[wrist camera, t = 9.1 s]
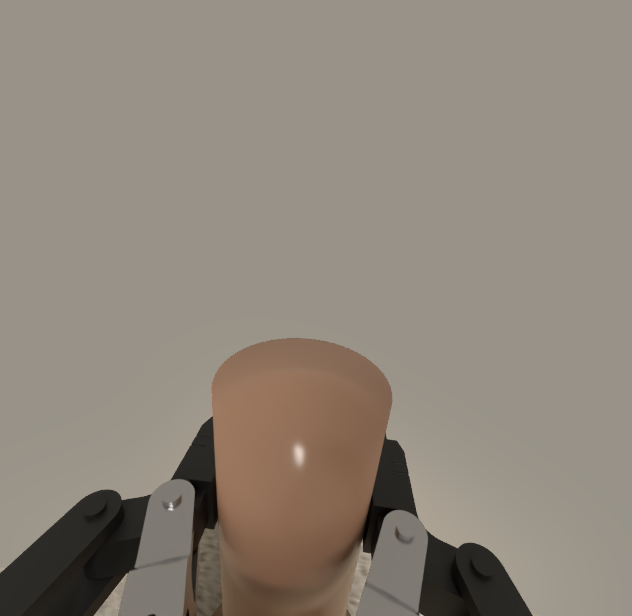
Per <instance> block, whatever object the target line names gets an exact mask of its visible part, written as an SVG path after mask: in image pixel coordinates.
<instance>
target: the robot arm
mask: <svg viewBox="0 0 632 616" xmlns="http://www.w3.org/2000/svg"><path fill="white" fill-rule="evenodd" d="M217 520H218V508H217V488H216V468H215V448H214V428H213V416H212V417H211V418H210V419H209V420H208V421H206V422H205V423H204V424H203V425H202V426H201V428H200V430H199V432H198V434H197V436H196V437H195V439H194V441H193V442H192V445H191V446H190V447H189V449H188V451H187V453H186V455H185V456H184V458H183V460H182V461H181V463H180V465H179V467H178V468H177V470H176V472H175V474H174V475H173V477H172V479H171V480H170V481H168V482H166V483H164V484H162V485H161V486H159V487H158V488H157V489H156V490H155V491H154V492H153V493H152V494H151V495H148V496H144V497H139V498H132V499H126V500H121V496H120V495H119V494H118V493H117V492H116V491H113V490H100V491H97V492H94V493H92V494H90V495H88V496H86V497H85V498H83V499H82V500H81V501H79V502H78V503H77V504H76V505H75V506H74V507H73V508H72V509H70V510H69V511H68V512H67V513H66V514H65V515H64V516H63V517H62V518H61V519H60V520H58V521H57V522H56V523H55V524H54V525H53V526H52V527H51V528H50V529H48V530H47V531H46V532H45V533H44V534H43V535H42V536H41V537H40V538H39V539H38V540H36V541H35V542H34V543H33V544H32V545H31V546H30V547H29V548H28V549H27V550H26V551H24V552H23V553H22V554H21V555H20V556H19V557H18V558H17V559H16V560H14V561H13V562H12V563H11V564H10V565H9V566H8V567H7V568H6V569H5V570H3V571H2V572H1V573H0V616H94V614H95V613H96V612H97V610H98V609H99V608H100V607H101V605H102V604H103V603H104V601H105V600H106V599H107V598H108V596H109V595H110V594H111V592H112V591H113V590H114V589H115V587H116V586H117V585H118V583H119V582H120V581H121V580H122V578H123V577H124V576H125V574H126V573H128V576H127V579H126V583H125V587H124V592H123V596H122V601H121V605H120V610H119V614H118V616H196V607H197V587H198V567H199V547H200V546H199V542H200V540H201V537H202V535H203V532H204V530H205V528H208V529H214V528H215V525H216V523H217ZM363 552H366V553H371V558H372V563H371V566H370V570H369V573H368V577H367V580H366V583H365V586H364V589H363V593H362V596H361V600H360V603H359V607H358V610H357V614H356V616H419V613H421V614H422V615H424V616H532V614H531V612H530V611H529V609H528V607H527V606H526V604H525V602H524V601H523V599H522V597H521V596H520V594H519V592H518V591H517V589H516V587H515V585H514V584H513V582H512V581H511V579H510V577H509V575H508V574H507V572H506V571H505V569H504V567H503V565H502V564H501V562H500V561H499V560H498V558H497V557H496V556H495V555H494V554H493V553H492V552H490V551H489V550H488V549H486V548H485V547H483V546H481V545H478V544H475V543H465V544H463V545H461V546H460V547H459V548H455V547H453V546H451V545H449V544H447V543H445V542H443V541H441V540H439V539H437V538H435V537H434V536H433V535H431V534H430V533H429V532H428V531H427V530H426V529H425V527H424V525H423V524H422V523H421V521H420V520H419V518H418V516H417V512H416V507H415V503H414V498H413V494H412V488H411V483H410V478H409V476H408V469H407V466H406V459H405V454H404V451H403V449H402V448H401V446H400V445H399V443H398V442H397V441H395V440H388V439H386V433H385V437H384V442H383V447H382V451H381V456H380V460H379V465H378V469H377V474H376V478H375V483H374V488H373V492H372V497H371V501H370V506H369V510H368V515H367V519H366V524H365V529H364V533H363ZM418 612H419V613H418Z"/></svg>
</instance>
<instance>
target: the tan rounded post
mask: <svg viewBox="0 0 632 616" xmlns="http://www.w3.org/2000/svg"><path fill="white" fill-rule="evenodd" d="M391 405H392V392H391V388H390V385H389V383H388V381H387V379H386V378H385V376H384V374H383V373H382V372H381V371H380V370H379V368H378V367H377V366H375V365H374V364H373V363H372V362H371V361H369V360H368V359H367V358H365V357H364V356H362V355H360V354H359V353H357V352H355V351H353V350H350V349H348V348H345V347H343V346H340V345H337V344H334V343H329V342H325V341H320V340H313V339H300V338H288V339H277V340H270V341H266V342H261V343H258V344H255V345H252V346H249V347H247V348H245V349H243V350H241V351H239V352H237V353H235V354H234V355H233V356H231V357H230V358H228V359H227V360H226V361H225V362H224V363H223V364H222V365H221V366H220V368H219V369H218V371H217V373H216V374H215V377H214V379H213V383H212V408H213V428H214V448H215V468H216V488H217V508H218V528H219V549H220V569H221V589H222V609H223V616H345V615H346V610H347V606H348V601H349V597H350V592H351V588H352V583H353V579H354V574H355V569H356V565H357V560H358V556H359V551H360V547H361V542H362V538H363V533H364V529H365V524H366V519H367V515H368V510H369V506H370V501H371V497H372V492H373V488H374V483H375V478H376V474H377V469H378V465H379V460H380V456H381V451H382V447H383V442H384V437H385V433H386V428H387V424H388V419H389V415H390V410H391Z"/></svg>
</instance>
